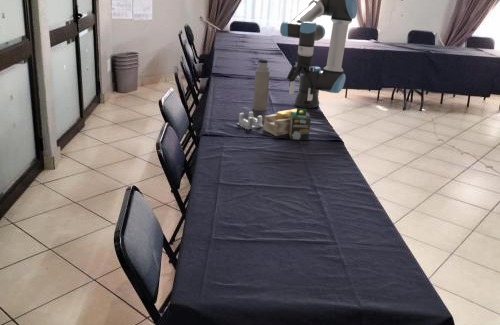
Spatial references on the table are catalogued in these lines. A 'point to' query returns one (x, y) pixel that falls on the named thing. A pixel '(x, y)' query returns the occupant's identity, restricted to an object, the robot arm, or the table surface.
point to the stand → (250, 121)
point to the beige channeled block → (276, 125)
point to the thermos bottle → (261, 86)
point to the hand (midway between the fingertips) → (300, 97)
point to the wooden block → (285, 114)
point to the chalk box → (299, 125)
